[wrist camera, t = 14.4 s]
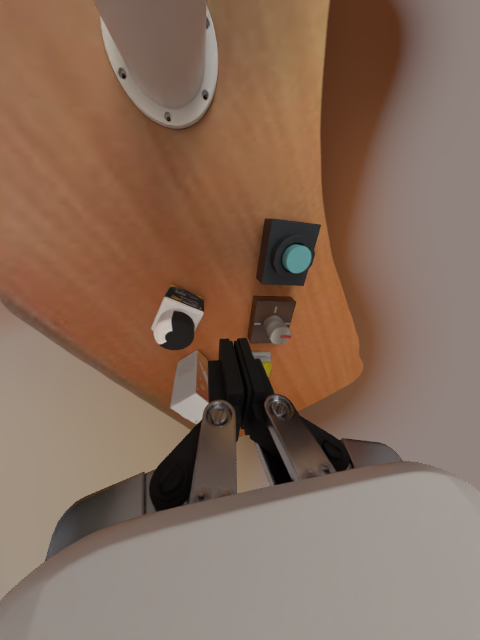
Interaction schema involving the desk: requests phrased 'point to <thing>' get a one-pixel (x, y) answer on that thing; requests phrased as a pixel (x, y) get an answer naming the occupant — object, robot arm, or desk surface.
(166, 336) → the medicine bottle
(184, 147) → the desk surface
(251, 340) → the rotary knob switch
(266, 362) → the emergency button
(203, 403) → the small box
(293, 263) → the teal button cap
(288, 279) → the button housing
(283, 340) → the dial
